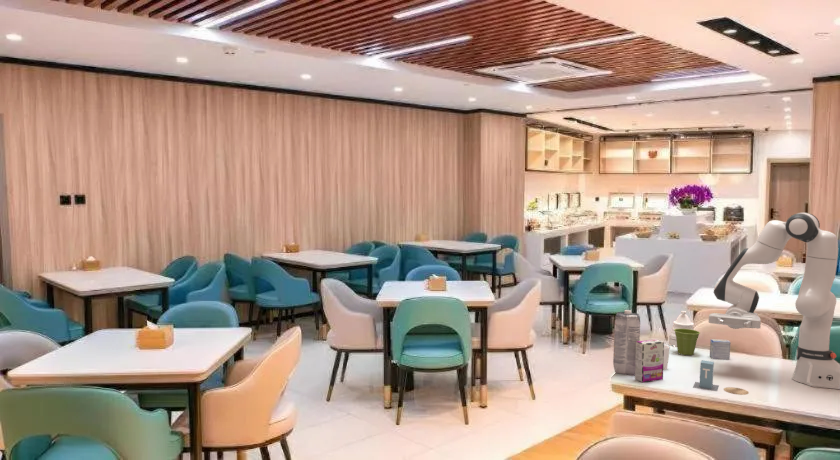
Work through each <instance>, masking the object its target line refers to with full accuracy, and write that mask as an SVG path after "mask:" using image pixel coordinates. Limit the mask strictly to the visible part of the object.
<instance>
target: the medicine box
mask: <svg viewBox="0 0 840 460" xmlns="http://www.w3.org/2000/svg"><path fill="white" fill-rule="evenodd" d="M731 343H732V342H731V341H730V340H728V339H715V338H714V339H713V338H712V339H710V346H709V357H710V358H711V359H712V358H713V360H731V357H730V356H731Z"/></svg>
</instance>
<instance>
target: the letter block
mask: <svg viewBox="0 0 840 460" xmlns="http://www.w3.org/2000/svg"><path fill="white" fill-rule="evenodd" d="M714 365H715V361H712V360H710V361H709V360H701V361H700V367H699V383H700V385H699V387H703V388H709V389H712V386H713V385H714Z"/></svg>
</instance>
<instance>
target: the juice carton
mask: <svg viewBox="0 0 840 460" xmlns="http://www.w3.org/2000/svg"><path fill="white" fill-rule="evenodd" d="M613 331H614V333H613V357H612V360H613V361H612V363H613V369H614V373H615V374H619V375H620V374H621V375H632V376H635V360H636V342H637V341H641V340H640V335H641V316H640V313H633V312H632V310H630V309H625V310H624V312H621V311H618V312H616V314H615V318H614V330H613Z"/></svg>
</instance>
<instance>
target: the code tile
mask: <svg viewBox="0 0 840 460" xmlns="http://www.w3.org/2000/svg"><path fill="white" fill-rule="evenodd" d="M699 385H700V381H695V382H694V384H693V387H692V388H693V389H698V390H700V389H701V390H707V391H711V392H712V391H713V392H718V390H719V387H720V385H718V384H713V386H712V389H709V388H703V387H699Z"/></svg>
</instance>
